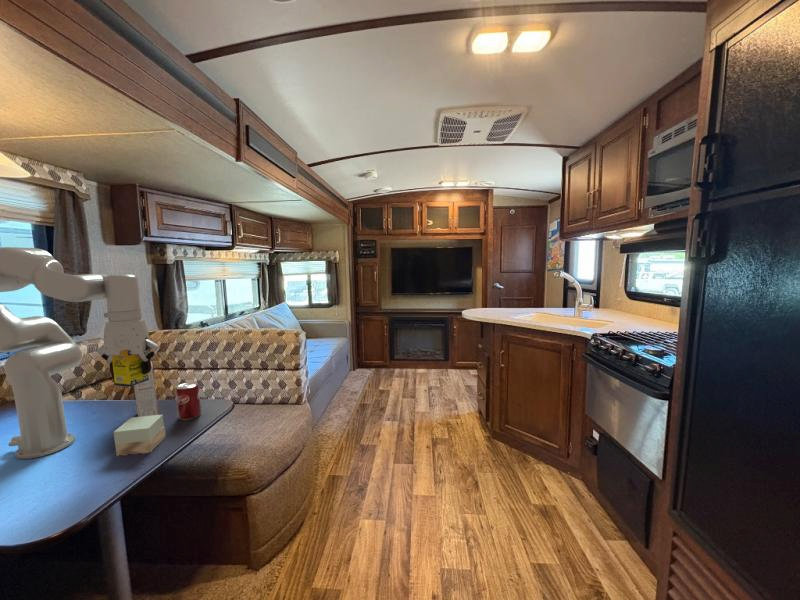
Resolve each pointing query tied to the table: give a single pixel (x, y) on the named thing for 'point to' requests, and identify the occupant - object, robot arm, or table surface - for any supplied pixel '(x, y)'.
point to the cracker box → (146, 396)
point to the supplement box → (128, 369)
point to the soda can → (188, 400)
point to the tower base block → (141, 445)
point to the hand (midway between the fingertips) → (131, 373)
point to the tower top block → (138, 429)
